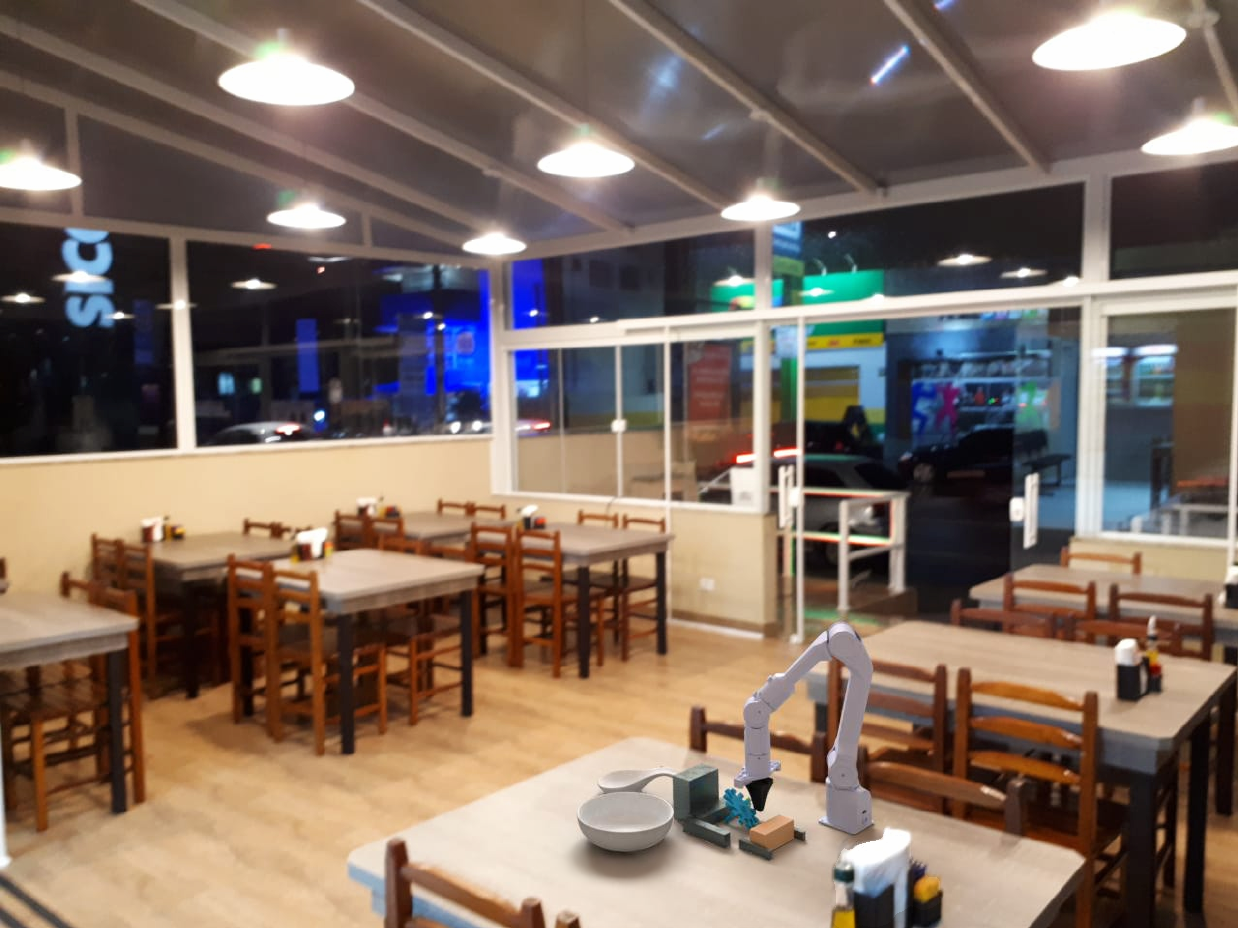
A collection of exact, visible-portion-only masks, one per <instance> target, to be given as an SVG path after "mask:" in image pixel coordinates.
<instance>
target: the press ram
mask: <svg viewBox="0 0 1238 928" xmlns="http://www.w3.org/2000/svg"><path fill="white" fill-rule="evenodd" d="M794 827H795V820H794V819H793V818H790V817H787V816H784V815H782V814H777V815H774V816H773V817H771V818H769V819H767V820H765V821H764V822H762V823H759V824H757V826H755V827H754V828H751V829H749V841H752V842H754V843H757V844H759V845H762V846H764V847H767V848H769V849H772V851H773V850H776V849H777V848H779V847H781V846H783V845H784V844H786V843H788V842H790V841H792V840H793V839H794Z"/></svg>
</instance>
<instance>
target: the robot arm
mask: <svg viewBox="0 0 1238 928" xmlns="http://www.w3.org/2000/svg"><path fill="white" fill-rule="evenodd" d="M833 657H834V658H836V659H837V660H839V661H840V662H842V663H843V664H844V665H845V666H846V668H847V669H848V670H849V677H848V682H847V687H846V690H845V695H844V700H843V705H842V710H841V716H840V721H839V726H838V730H837V736H836V738H835V740H834V744H833V746H832V748H831V749H830V750H829V752H828V753H827V756H826V763H827V766H828V767H827V768H828V769H827V770H828V771H827V775H828V776H827V777H826V778H825V807H826V808H825V809H826V810H825V815H824V816H823V817H821V818H819V819H818V820H817V821H818V823H819V824H822V825H825V826H828V827H831V828H834V829H836V830H839V831H843V832H845V833H847V834H850V835H857V834H858V833H860V832H861V831H864V830H865V829H867V828H868V827H870V826H872V825H873V824H875V823H874V820H873V819H872V816H873V815H872V814H873V811H872V806H873V805H872V795H871V792H870V791H869V790H868V789H866V788H864V787H863V786H861V784H860V780H859V778H858V777H859V772H858V768H857V760H858V749H859V742H860V737H861V732H862V727H863V723H864V717H865V713H866V707H867V704H868V703H867V702H868V698H869V693H870V689H871V688H870V687H871V686H872V685H871V683H872V679H873V675H874V665H873V662H872V660H871V657H870V655H869V653H868V650H867V648H866V645H865V644H864V641H863V640H862V637H861V634H860V633H859V632H858V631H857V630H856V629H855V628H854V627H853V626H852V625H851V624H849V623H847V622H845V621H838V622H835V623H833V624H832V625H831V626H829V628H828V629H827V630H825V631H823V632H822V633H821V634H819V636H818V637H817V638H816V639H815V640H814V641H813V642H812V643H811V644H810V645H809V646H808V648H806V649H805V651H803V653H802V654H801V655H800V656H799V657H798V658H797V659H796V660H795V661H794V662H793V663H792V664H791V665H790V667H789V668H788V669H787V670H786V671H785V672H776V673H775V674H774V675H772V674H770V675H768V677H766V683H764V685H763V686H761V688H760V689H759V690H758V691H753V692H752V696H750V697H748V698H747V700H746V701H745V702H744V706H743V712H742V715H743V716H742V717H743V720H744V723H743V725H744V731H743V736H744V737H743V738H744V739H743V740H744V742H743V743H744V744H743V745H744V765H743V766H741V770H742V771H741V772H740V773H739V774H738V775H737V776H736V777H734V778H733V787H734V788H737V789H739V790H742V789H744V786H745V788H746V790H747V792H748V795H749V798H750V799H751V805H752V807H753V808H752V809H755V810H756V812H760V813H762V812H763V811H765V806H766V803H767V798H768V795H769V792H770V790H771V787H772V786H773V784H774V779H773V777H771V776H772V775H773V774H774V772H780V771H782V762H781V761H778V760H771V732H770V729H769V722H770V718H771V714H773V713H775V712H777V711H778V710H779V708H781V707H782V706H783V704H785V703H786V702H787V700H789V699H790V698H791V697H792V696H793V695H794V694H795V692H796V691H795V690H796V688H795V687H796V686H795V685H796V684H797V683H798V682H799V681H800V680H801V679H802V678H803V677H804V676H805V675H807V674H808V673H809V672H810V671H811V670H812V669H814V668H815V666H817V665H818V664H819V663H820V662H832V661H834V658H833Z"/></svg>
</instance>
